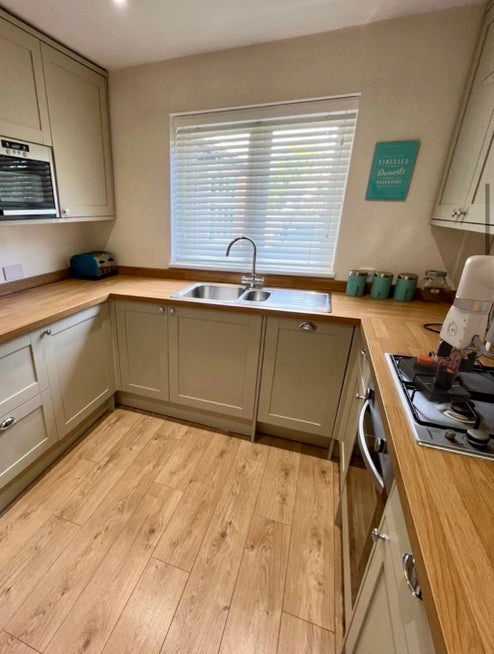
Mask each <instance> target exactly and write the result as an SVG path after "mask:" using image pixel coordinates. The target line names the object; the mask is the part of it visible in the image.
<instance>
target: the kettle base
mask: <svg viewBox="0 0 494 654" xmlns="http://www.w3.org/2000/svg"><path fill="white" fill-rule="evenodd" d="M417 359H418V356H413V357H412V358H400V361H399V364H398V368H399V369H400V371H402V372H403V373H404V375H405V376H406V377H407V379H409V380H410V381H411V382H412V383H414V380H415V377H416V376H423V377H435V375H436V372H437V370H438V363H437V362H435V361H434V360H433V363H432V365H425V364H421V363H419V362H417Z"/></svg>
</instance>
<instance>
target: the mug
mask: <svg viewBox="0 0 494 654" xmlns="http://www.w3.org/2000/svg"><path fill="white" fill-rule="evenodd" d="M440 339H441V337H440V336H439V339H438V342H437V347H436V351H435V354H434V358H433V359H434V360H433V361H435V362H437V363H438V367H439V366H447V367H451V368H453V369H455V370H457V368H458V365H459V362H460V359H461V357H463V352H462V349H457V348H455V347H452V351H451V354H450V357H438V356H437V352H438V349H439V345H440ZM467 347H468V346H467ZM471 352H472V350H468V354H469V353H471ZM463 358H464V357H463ZM460 374H461V372H458V371H457V375H456V378H457V377H459V375H460Z"/></svg>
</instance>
